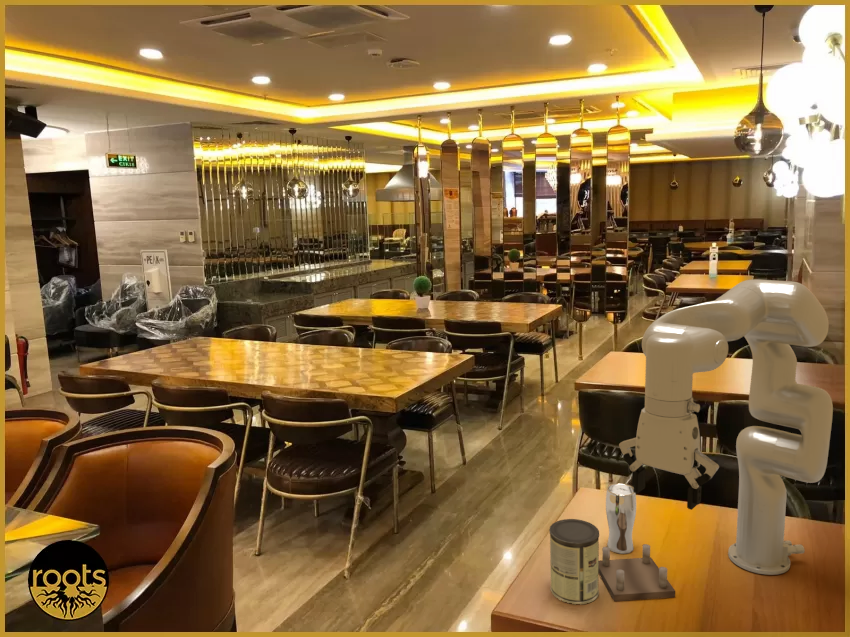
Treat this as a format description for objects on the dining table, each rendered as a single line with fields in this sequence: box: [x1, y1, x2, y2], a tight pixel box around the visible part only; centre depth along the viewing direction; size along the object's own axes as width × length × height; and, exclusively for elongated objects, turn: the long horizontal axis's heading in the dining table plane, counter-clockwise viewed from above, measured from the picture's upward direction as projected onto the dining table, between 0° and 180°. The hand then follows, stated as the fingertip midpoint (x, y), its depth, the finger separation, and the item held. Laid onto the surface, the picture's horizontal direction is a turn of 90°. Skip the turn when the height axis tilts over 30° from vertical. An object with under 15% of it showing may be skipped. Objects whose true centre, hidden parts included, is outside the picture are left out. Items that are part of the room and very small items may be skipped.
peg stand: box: [598, 543, 676, 602], centre depth 140 cm, size 13×13×6 cm
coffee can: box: [549, 518, 600, 605], centre depth 137 cm, size 10×10×14 cm
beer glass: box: [605, 483, 637, 555], centre depth 153 cm, size 7×7×15 cm
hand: (665, 498), depth 113 cm, fingers open, 9 cm apart
